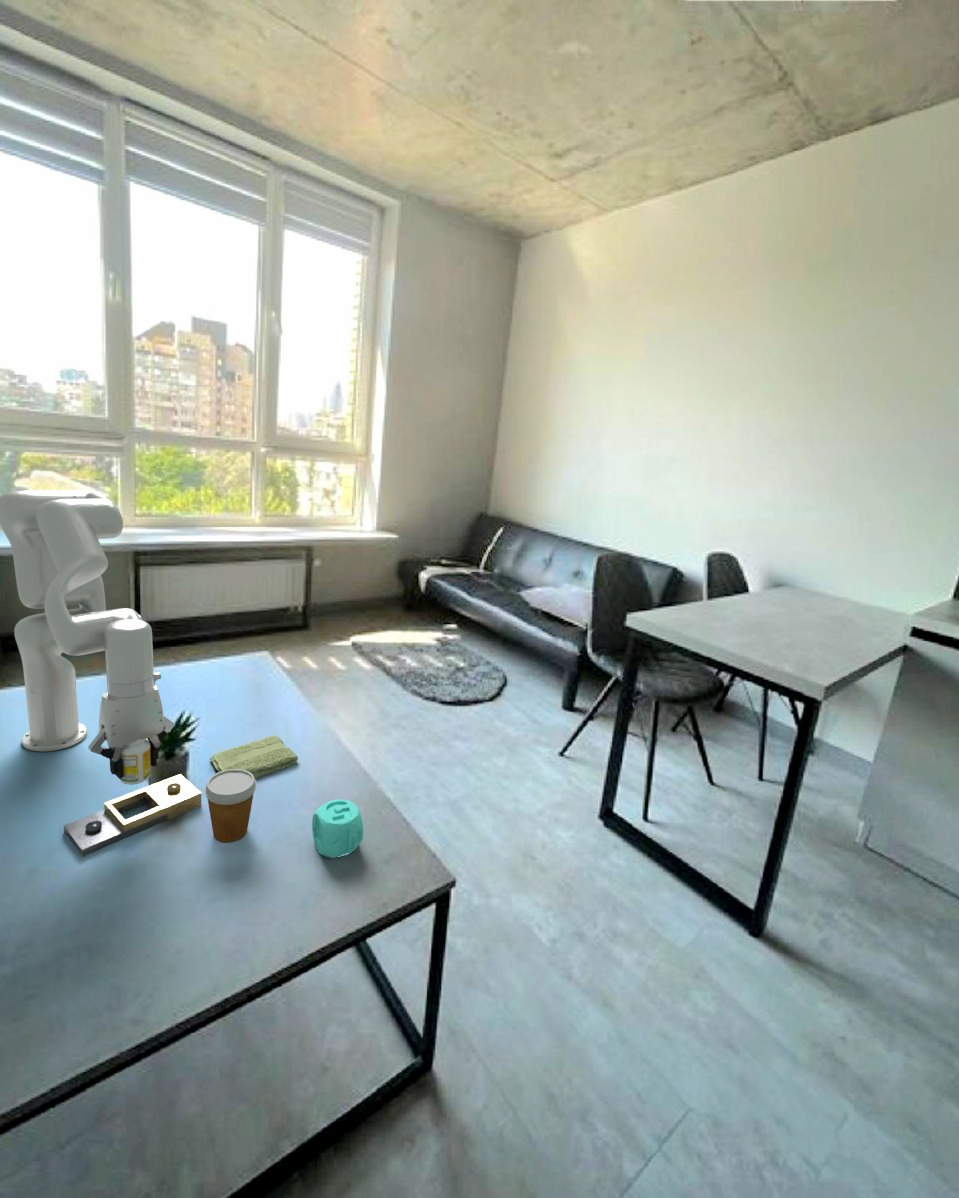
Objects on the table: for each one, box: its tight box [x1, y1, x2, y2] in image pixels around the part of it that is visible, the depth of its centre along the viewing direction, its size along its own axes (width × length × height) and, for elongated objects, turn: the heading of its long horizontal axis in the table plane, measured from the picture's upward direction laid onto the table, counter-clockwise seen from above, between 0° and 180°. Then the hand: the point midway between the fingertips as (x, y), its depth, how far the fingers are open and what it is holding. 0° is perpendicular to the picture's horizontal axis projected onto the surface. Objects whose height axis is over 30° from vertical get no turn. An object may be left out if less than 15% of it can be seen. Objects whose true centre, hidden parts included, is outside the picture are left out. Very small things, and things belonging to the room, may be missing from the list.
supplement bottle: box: [119, 738, 152, 786], centre depth 111 cm, size 5×5×10 cm
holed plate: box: [63, 773, 202, 858], centre depth 115 cm, size 9×22×4 cm, turn 143°
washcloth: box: [209, 734, 299, 779], centre depth 138 cm, size 13×18×3 cm
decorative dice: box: [311, 799, 364, 859], centre depth 115 cm, size 8×8×8 cm
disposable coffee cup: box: [203, 769, 258, 844], centre depth 113 cm, size 10×10×12 cm
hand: (135, 768), depth 112 cm, fingers closed on supplement bottle, 5 cm apart
